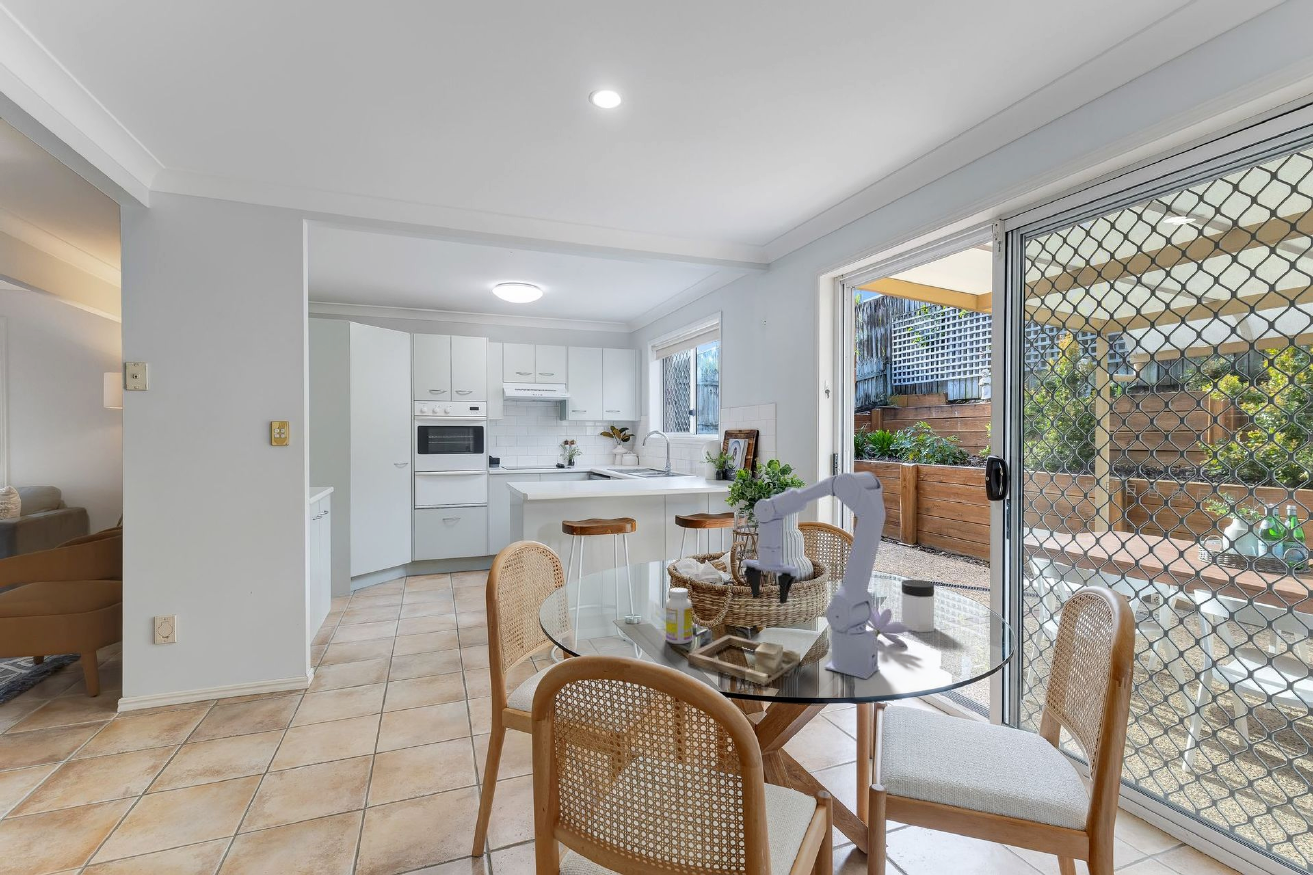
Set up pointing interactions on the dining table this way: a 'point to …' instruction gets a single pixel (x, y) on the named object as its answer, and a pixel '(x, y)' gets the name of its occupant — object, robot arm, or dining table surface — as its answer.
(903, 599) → the jar
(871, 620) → the water lily
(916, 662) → the dining table surface
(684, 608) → the supplement bottle
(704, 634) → the winch
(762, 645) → the beige cube
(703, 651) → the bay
